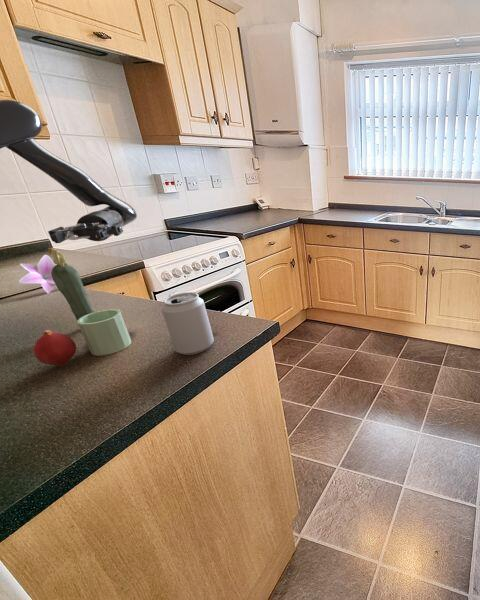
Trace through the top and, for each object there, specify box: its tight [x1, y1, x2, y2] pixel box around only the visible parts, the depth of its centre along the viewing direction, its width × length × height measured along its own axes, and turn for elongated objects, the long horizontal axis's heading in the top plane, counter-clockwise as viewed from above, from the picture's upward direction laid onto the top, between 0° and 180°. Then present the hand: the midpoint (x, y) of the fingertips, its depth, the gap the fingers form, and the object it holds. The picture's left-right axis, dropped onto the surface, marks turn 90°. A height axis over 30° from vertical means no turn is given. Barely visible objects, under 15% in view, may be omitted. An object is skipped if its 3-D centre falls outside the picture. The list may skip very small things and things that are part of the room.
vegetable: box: [47, 247, 95, 321], centre depth 78 cm, size 4×4×20 cm
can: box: [161, 291, 215, 356], centre depth 71 cm, size 8×8×12 cm
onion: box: [32, 329, 77, 367], centre depth 66 cm, size 6×6×8 cm
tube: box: [76, 308, 132, 357], centre depth 72 cm, size 7×7×8 cm
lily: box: [18, 254, 56, 294], centre depth 104 cm, size 12×12×10 cm
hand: (77, 237), depth 84 cm, fingers open, 8 cm apart
